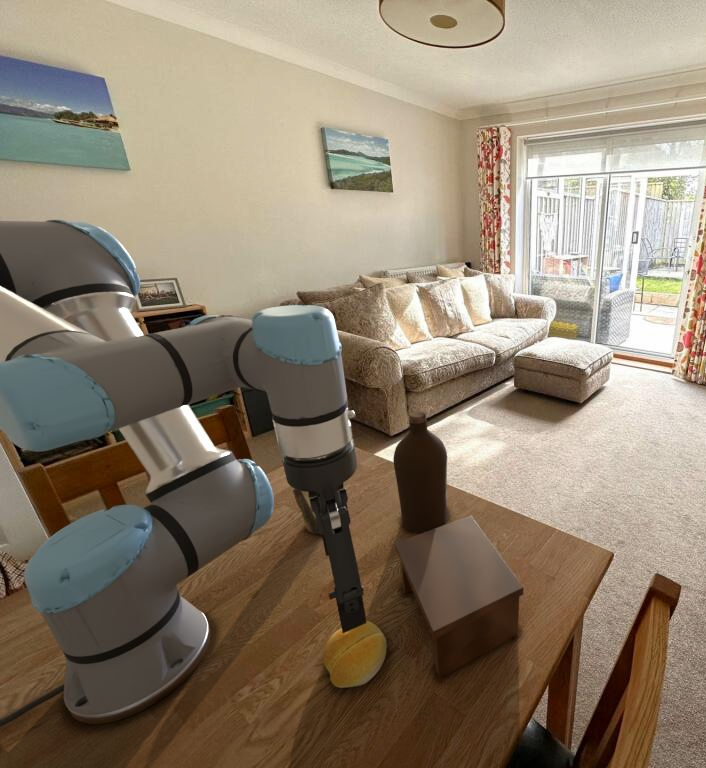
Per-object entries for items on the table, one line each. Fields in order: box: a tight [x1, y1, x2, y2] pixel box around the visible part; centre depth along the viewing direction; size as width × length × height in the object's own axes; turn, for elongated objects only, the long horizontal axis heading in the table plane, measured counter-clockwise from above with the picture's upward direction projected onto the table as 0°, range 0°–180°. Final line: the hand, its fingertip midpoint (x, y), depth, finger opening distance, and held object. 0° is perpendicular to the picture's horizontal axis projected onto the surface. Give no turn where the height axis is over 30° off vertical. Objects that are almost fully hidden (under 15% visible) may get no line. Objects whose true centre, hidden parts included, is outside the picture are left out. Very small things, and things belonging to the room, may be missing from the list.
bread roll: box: [322, 620, 388, 689], centre depth 58 cm, size 8×9×4 cm
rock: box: [292, 488, 321, 535], centre depth 86 cm, size 11×9×10 cm
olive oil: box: [392, 410, 448, 533], centre depth 83 cm, size 11×11×25 cm
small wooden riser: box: [394, 515, 524, 679], centre depth 65 cm, size 14×18×10 cm
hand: (344, 584), depth 53 cm, fingers open, 13 cm apart
